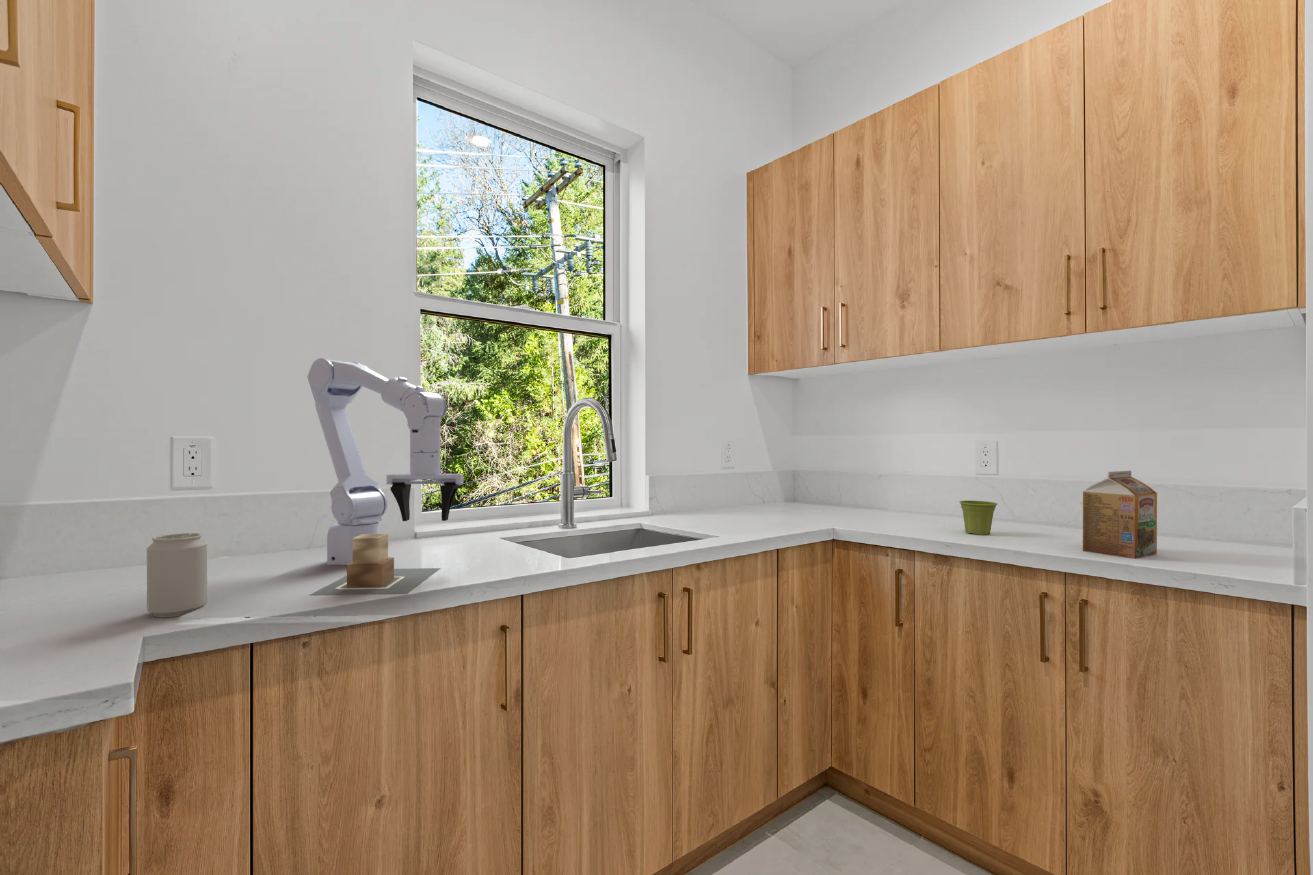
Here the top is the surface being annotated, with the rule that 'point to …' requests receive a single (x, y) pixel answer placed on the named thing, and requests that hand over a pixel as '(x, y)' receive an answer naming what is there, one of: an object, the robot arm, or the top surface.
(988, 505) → the plant pot
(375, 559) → the maple cube
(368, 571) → the walnut block
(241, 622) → the top surface
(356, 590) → the gray mat
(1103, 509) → the milk carton
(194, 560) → the can
